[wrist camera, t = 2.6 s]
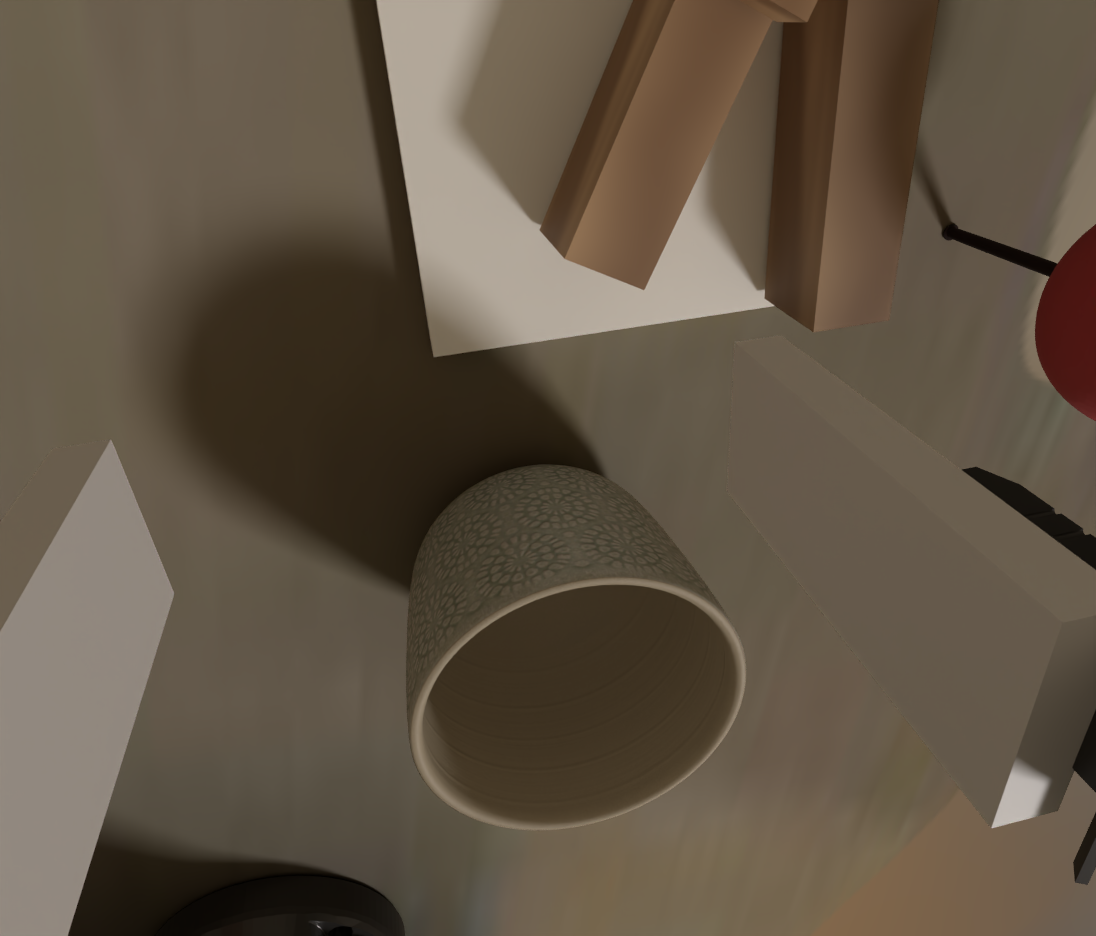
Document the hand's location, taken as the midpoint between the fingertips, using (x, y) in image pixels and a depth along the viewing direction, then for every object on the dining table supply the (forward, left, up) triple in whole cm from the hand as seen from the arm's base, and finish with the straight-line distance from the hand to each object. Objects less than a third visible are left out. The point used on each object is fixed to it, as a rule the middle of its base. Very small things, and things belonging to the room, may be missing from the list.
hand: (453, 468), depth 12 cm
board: (+9, +2, -19) cm, 22 cm away
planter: (+3, -16, -20) cm, 26 cm away
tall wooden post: (+15, +2, -19) cm, 25 cm away
